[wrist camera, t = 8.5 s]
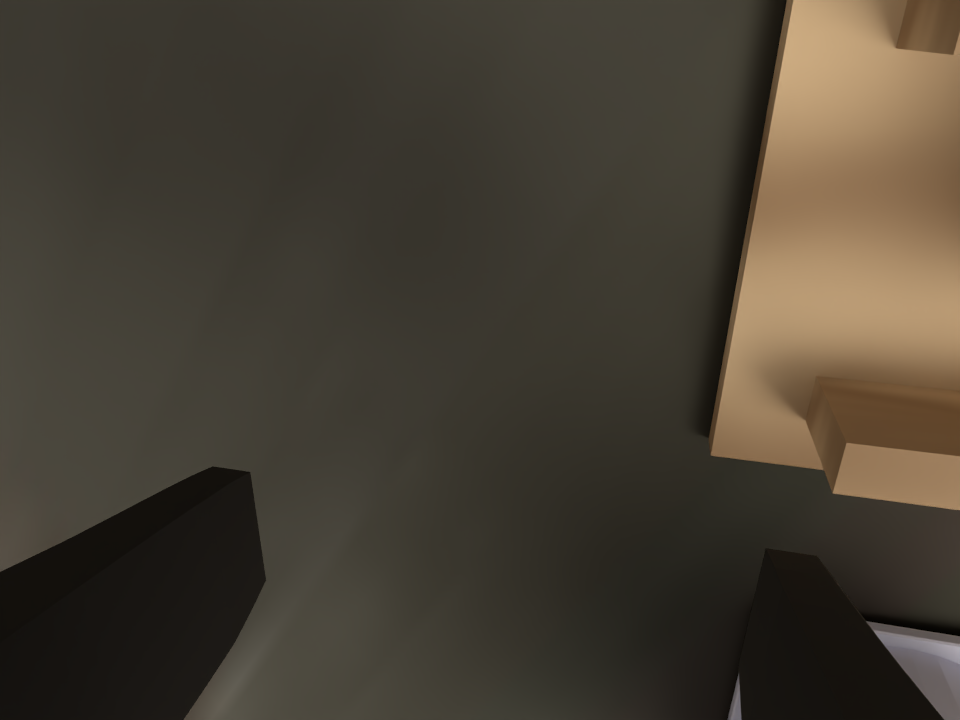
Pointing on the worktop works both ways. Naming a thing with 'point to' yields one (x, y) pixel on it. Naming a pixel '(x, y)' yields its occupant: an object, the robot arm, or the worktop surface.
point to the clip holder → (854, 257)
